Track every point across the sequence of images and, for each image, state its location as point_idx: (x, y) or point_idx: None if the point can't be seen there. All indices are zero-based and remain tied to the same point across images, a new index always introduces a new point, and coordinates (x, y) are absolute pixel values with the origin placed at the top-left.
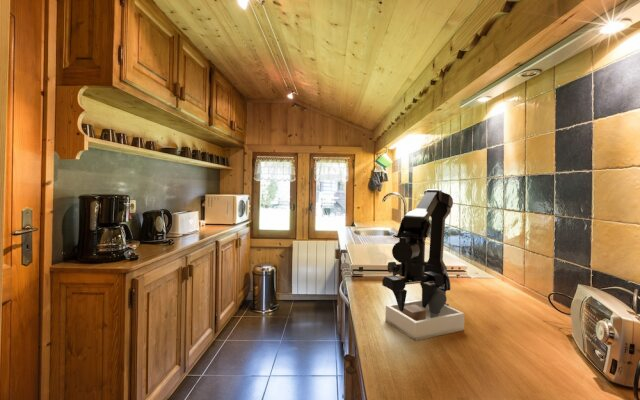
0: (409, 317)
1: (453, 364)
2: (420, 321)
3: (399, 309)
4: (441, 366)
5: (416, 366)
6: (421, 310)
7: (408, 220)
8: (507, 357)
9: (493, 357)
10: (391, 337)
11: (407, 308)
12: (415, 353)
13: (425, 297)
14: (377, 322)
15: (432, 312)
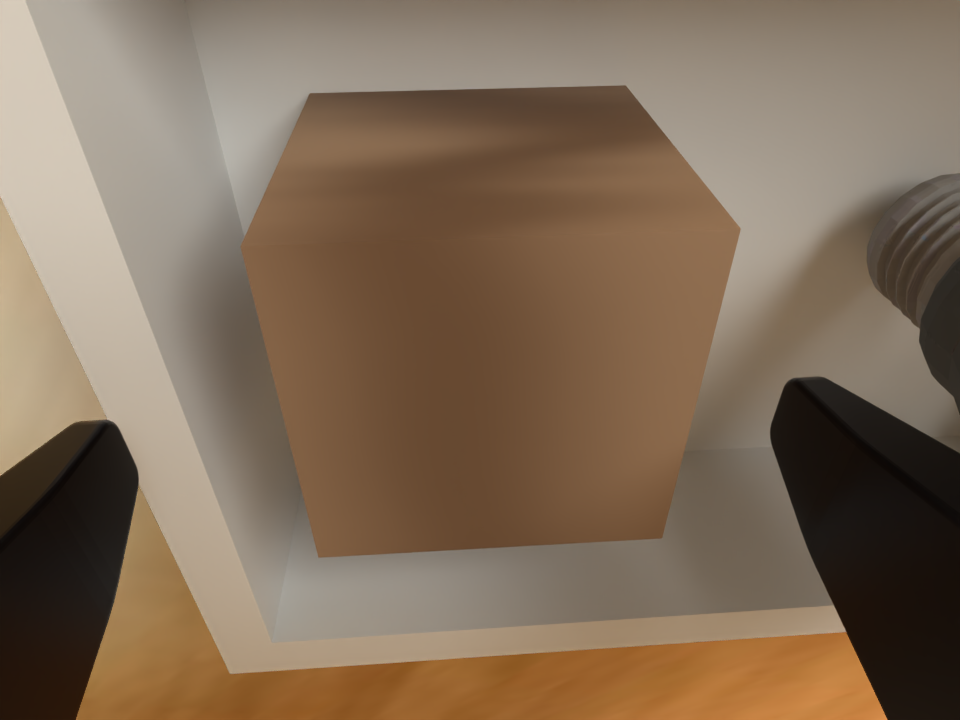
0: (227, 556)
1: (366, 711)
2: (327, 658)
3: (65, 437)
4: (273, 712)
5: (95, 692)
6: (572, 527)
7: None
8: (751, 716)
9: (676, 706)
10: (5, 353)
11: (342, 390)
12: (164, 605)
13: (928, 661)
14: None
15: (920, 335)
